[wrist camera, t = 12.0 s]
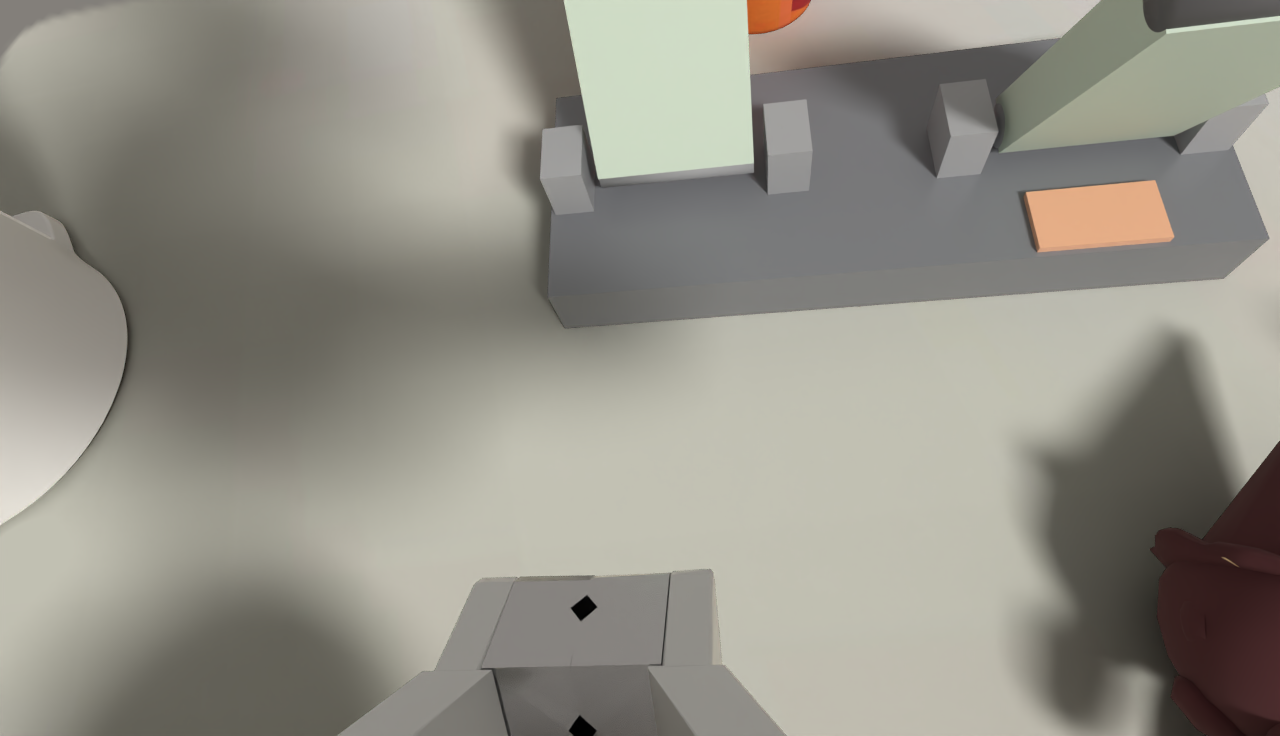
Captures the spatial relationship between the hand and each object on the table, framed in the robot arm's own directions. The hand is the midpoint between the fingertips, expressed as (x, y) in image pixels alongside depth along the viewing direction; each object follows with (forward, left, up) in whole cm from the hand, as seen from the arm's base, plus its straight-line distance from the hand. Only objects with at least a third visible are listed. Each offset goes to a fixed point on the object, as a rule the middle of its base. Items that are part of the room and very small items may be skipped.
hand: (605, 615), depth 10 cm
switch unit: (+7, +18, -18) cm, 27 cm away
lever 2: (+15, +18, -14) cm, 27 cm away
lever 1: (0, +18, -14) cm, 23 cm away
